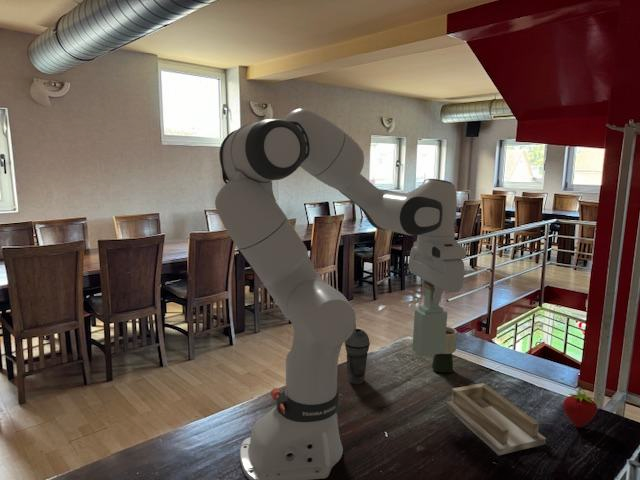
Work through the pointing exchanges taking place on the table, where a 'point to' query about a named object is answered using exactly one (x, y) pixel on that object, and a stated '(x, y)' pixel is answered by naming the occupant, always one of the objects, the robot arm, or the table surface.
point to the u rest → (494, 419)
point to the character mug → (446, 353)
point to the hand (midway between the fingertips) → (431, 299)
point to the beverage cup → (357, 355)
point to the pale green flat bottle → (429, 326)
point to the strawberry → (580, 409)
